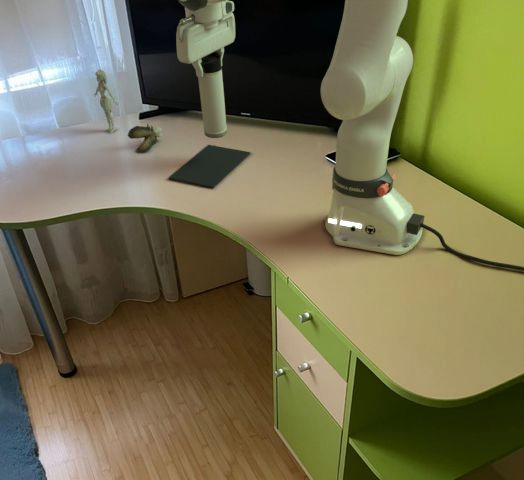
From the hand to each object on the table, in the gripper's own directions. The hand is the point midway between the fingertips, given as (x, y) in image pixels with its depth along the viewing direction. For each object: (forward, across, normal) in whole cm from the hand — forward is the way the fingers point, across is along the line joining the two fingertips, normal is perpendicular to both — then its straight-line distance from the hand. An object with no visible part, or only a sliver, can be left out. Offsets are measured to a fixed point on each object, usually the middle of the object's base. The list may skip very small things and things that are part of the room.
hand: (209, 71), depth 142 cm
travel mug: (+16, 0, 0) cm, 16 cm away
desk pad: (+24, -4, 0) cm, 24 cm away
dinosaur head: (+24, -2, +25) cm, 35 cm away
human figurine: (+24, +2, +43) cm, 49 cm away
